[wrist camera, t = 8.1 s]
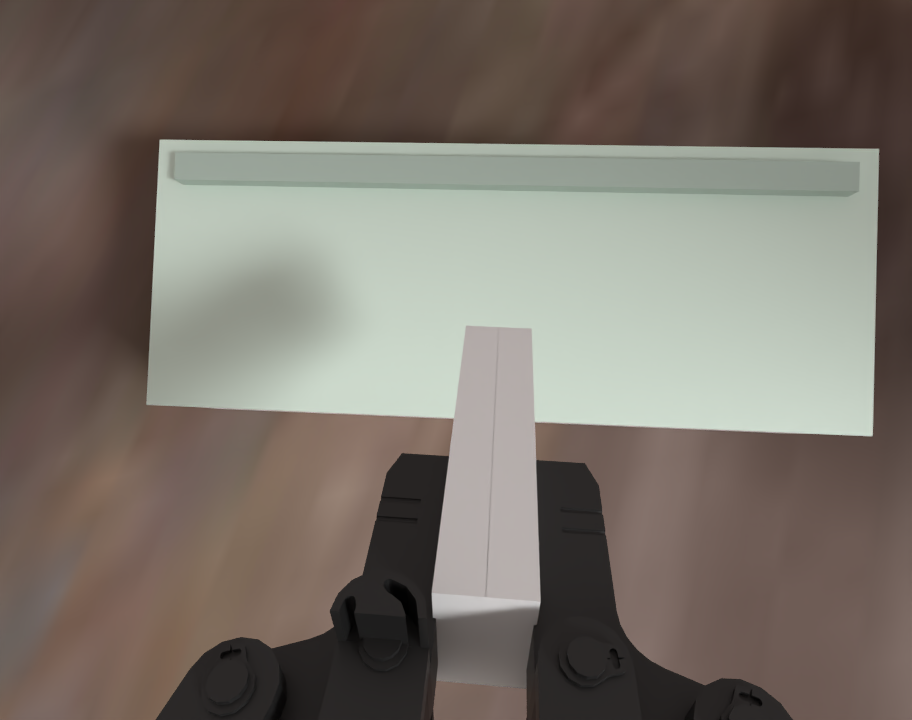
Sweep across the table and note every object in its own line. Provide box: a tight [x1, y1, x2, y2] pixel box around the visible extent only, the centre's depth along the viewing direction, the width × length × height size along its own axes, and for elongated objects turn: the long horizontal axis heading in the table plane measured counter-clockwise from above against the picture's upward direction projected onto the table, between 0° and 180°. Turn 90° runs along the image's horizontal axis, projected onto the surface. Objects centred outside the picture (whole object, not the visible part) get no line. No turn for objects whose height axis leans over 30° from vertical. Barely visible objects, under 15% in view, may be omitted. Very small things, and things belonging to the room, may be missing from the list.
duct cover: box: [146, 140, 879, 436], centre depth 21 cm, size 26×10×1 cm, turn 88°
